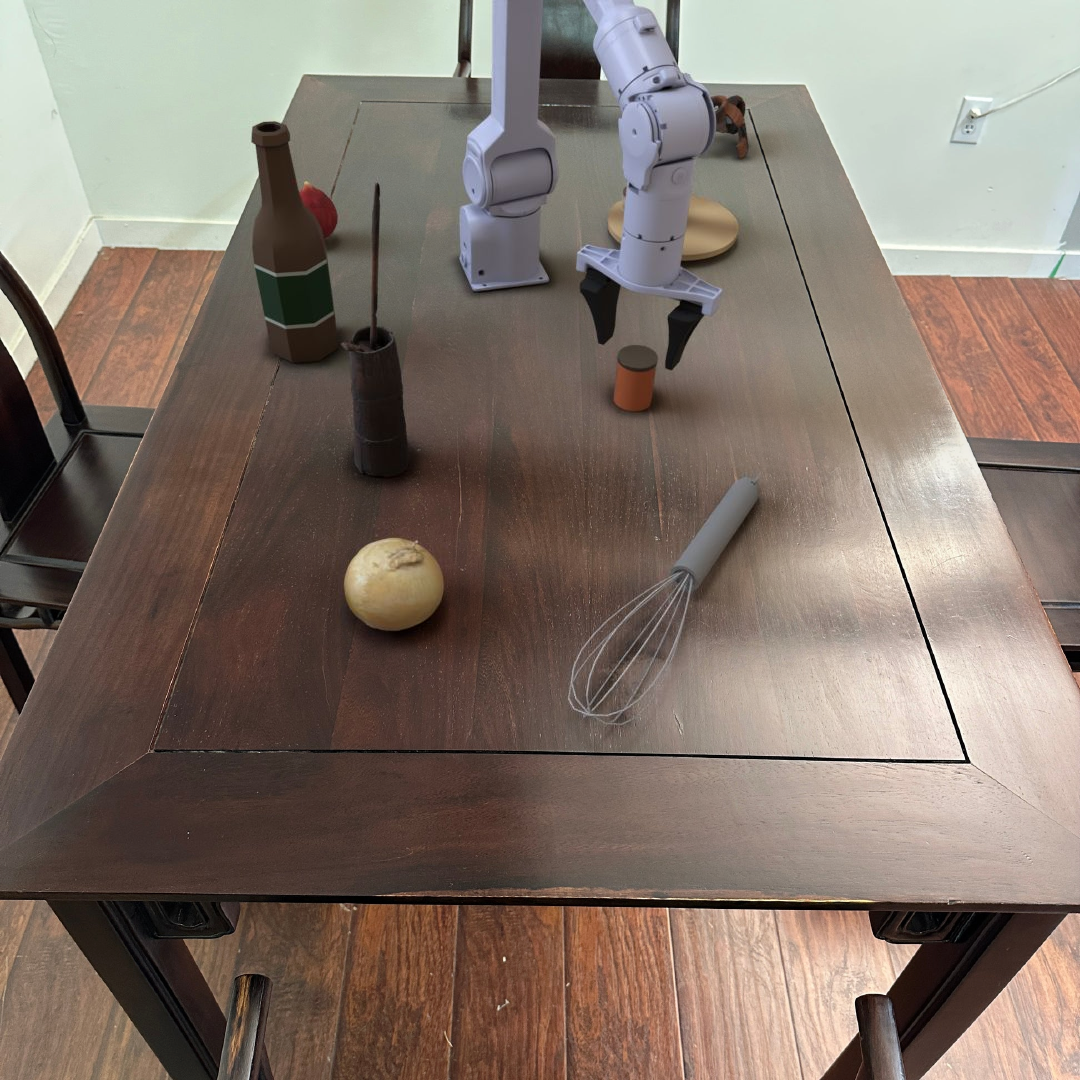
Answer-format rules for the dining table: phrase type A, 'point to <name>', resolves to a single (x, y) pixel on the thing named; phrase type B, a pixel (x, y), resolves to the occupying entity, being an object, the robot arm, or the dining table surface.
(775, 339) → the dining table surface
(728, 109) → the brown curled loops
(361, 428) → the butter churn
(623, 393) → the spice jar
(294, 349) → the beer bottle
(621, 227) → the spice carousel
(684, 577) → the kitchen whisk
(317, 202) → the onion
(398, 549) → the onion
